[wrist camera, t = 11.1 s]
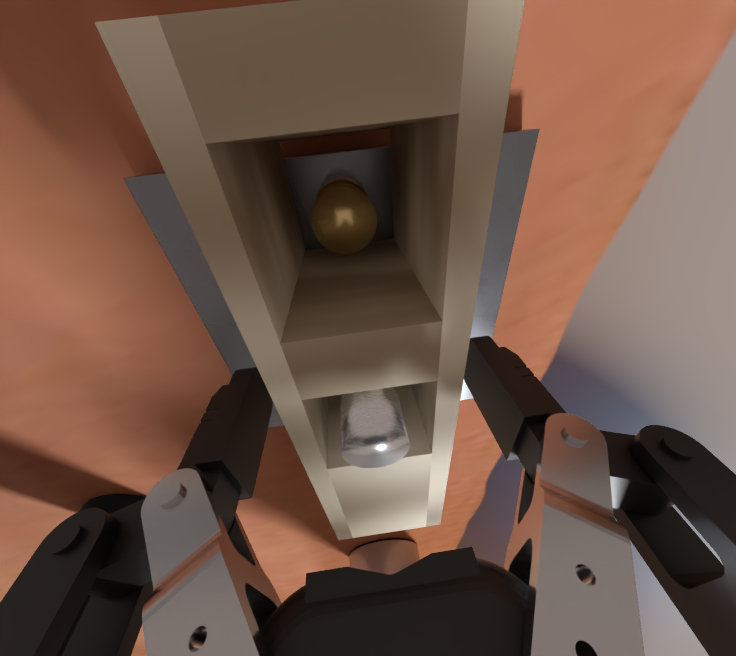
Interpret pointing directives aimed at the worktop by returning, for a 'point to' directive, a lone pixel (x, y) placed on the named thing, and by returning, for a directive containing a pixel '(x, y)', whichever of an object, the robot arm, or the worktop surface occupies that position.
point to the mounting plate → (302, 198)
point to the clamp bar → (321, 266)
